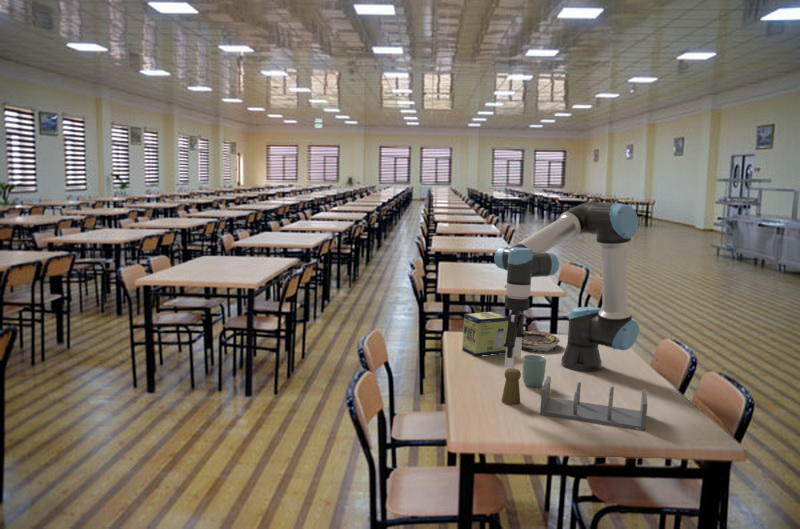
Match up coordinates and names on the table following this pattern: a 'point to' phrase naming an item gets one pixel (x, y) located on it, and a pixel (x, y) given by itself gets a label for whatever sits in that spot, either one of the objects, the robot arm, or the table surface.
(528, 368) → the cup
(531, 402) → the table surface
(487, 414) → the table surface
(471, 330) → the protein box
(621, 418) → the rack
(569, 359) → the robot arm
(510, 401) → the cork
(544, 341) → the pie
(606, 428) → the table surface
